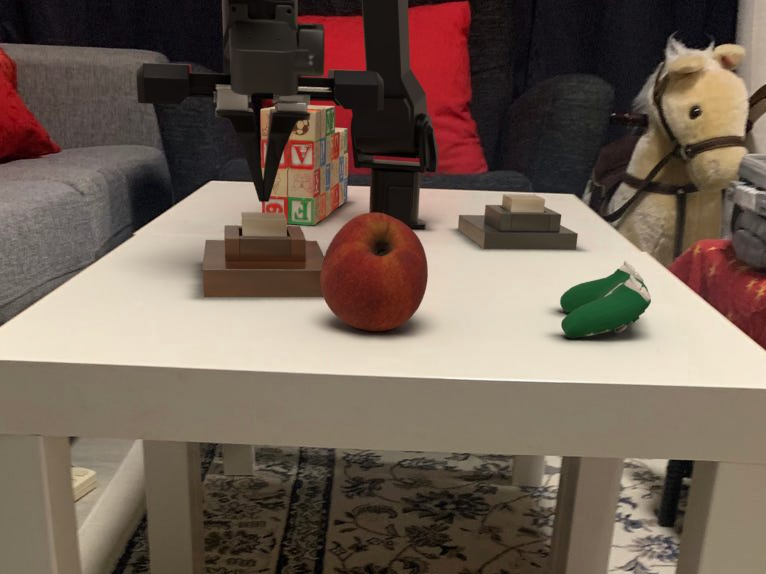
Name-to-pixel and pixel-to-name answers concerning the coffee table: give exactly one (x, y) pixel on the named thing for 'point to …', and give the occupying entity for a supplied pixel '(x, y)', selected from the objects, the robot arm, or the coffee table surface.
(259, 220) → the key
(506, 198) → the key
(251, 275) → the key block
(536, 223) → the grey stepped pedestal
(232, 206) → the coffee table surface
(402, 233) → the apple
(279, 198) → the stack of blocks
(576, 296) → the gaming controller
